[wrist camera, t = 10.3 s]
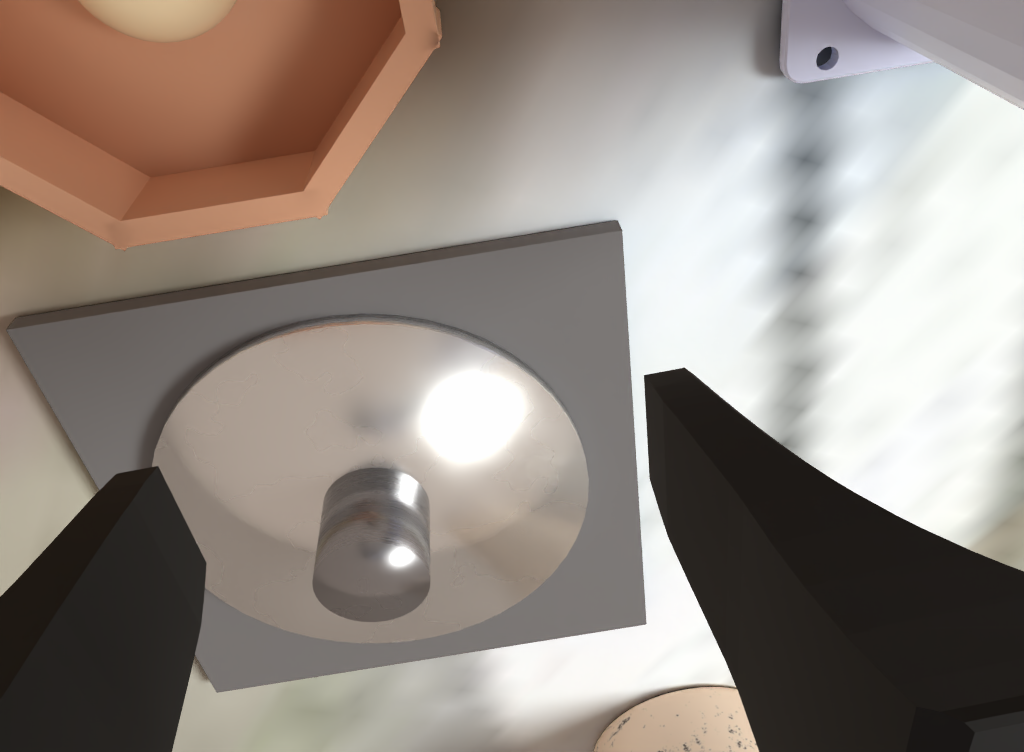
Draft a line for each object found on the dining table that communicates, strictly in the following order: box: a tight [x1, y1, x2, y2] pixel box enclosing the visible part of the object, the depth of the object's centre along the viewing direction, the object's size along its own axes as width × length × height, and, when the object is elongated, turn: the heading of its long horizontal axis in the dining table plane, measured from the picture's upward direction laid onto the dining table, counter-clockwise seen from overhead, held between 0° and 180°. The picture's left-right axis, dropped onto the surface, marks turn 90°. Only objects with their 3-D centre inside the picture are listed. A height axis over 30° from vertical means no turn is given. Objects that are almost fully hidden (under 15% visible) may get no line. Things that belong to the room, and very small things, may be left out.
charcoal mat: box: [6, 220, 646, 692], centre depth 26 cm, size 16×16×1 cm
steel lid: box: [152, 313, 589, 643], centre depth 24 cm, size 13×13×4 cm
